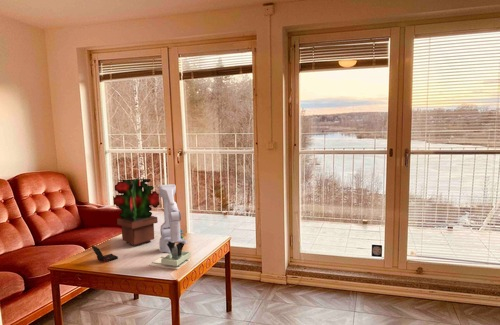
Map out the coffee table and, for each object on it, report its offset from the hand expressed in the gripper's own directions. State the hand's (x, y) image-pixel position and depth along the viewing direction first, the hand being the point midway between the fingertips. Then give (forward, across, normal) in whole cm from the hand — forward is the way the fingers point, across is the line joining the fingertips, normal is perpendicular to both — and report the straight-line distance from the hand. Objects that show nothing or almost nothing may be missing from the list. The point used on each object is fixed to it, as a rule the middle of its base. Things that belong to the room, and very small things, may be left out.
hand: (176, 254), depth 195 cm
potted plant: (+6, -48, +26) cm, 55 cm away
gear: (+6, -25, +39) cm, 47 cm away
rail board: (+5, -4, 0) cm, 7 cm away
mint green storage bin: (+5, 0, 0) cm, 5 cm away
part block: (+2, 0, 0) cm, 2 cm away
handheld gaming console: (+6, -46, -8) cm, 47 cm away
